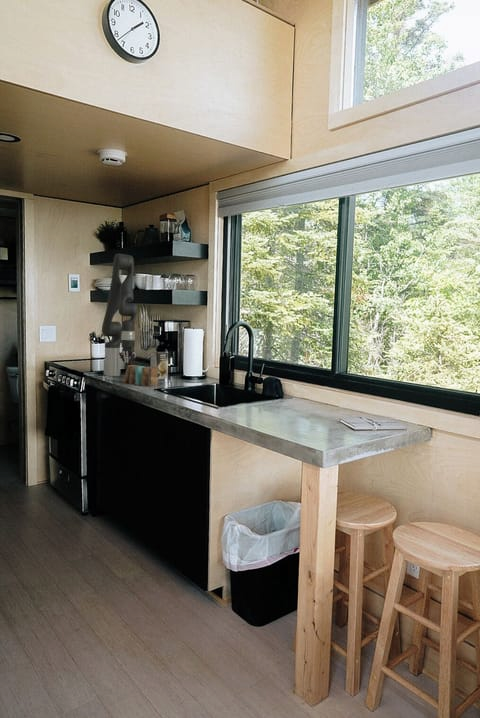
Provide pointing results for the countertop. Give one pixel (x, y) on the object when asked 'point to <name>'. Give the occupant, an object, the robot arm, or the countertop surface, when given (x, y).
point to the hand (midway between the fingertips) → (128, 369)
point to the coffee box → (160, 363)
